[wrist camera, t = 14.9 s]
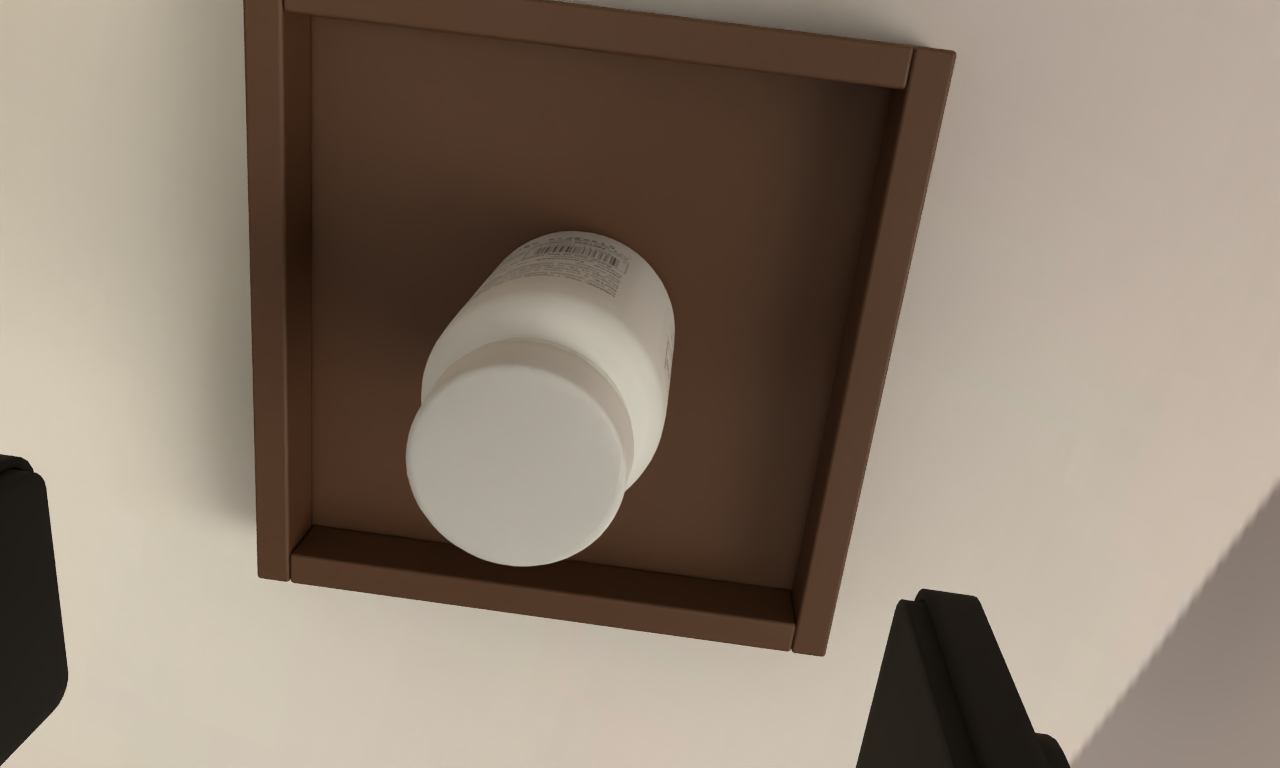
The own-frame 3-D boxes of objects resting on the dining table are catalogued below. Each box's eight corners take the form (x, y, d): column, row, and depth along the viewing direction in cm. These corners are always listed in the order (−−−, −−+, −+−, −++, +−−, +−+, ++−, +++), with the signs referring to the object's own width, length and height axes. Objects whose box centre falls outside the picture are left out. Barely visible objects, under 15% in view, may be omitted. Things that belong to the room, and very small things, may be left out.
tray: (935, 48, 20) (957, 51, 18) (816, 610, 25) (825, 658, 23) (283, -33, 20) (240, -38, 19) (290, 537, 25) (256, 579, 23)
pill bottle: (442, 298, 22) (313, 433, 15) (601, 188, 21) (544, 277, 14) (557, 447, 23) (488, 640, 16) (713, 350, 22) (714, 512, 15)
